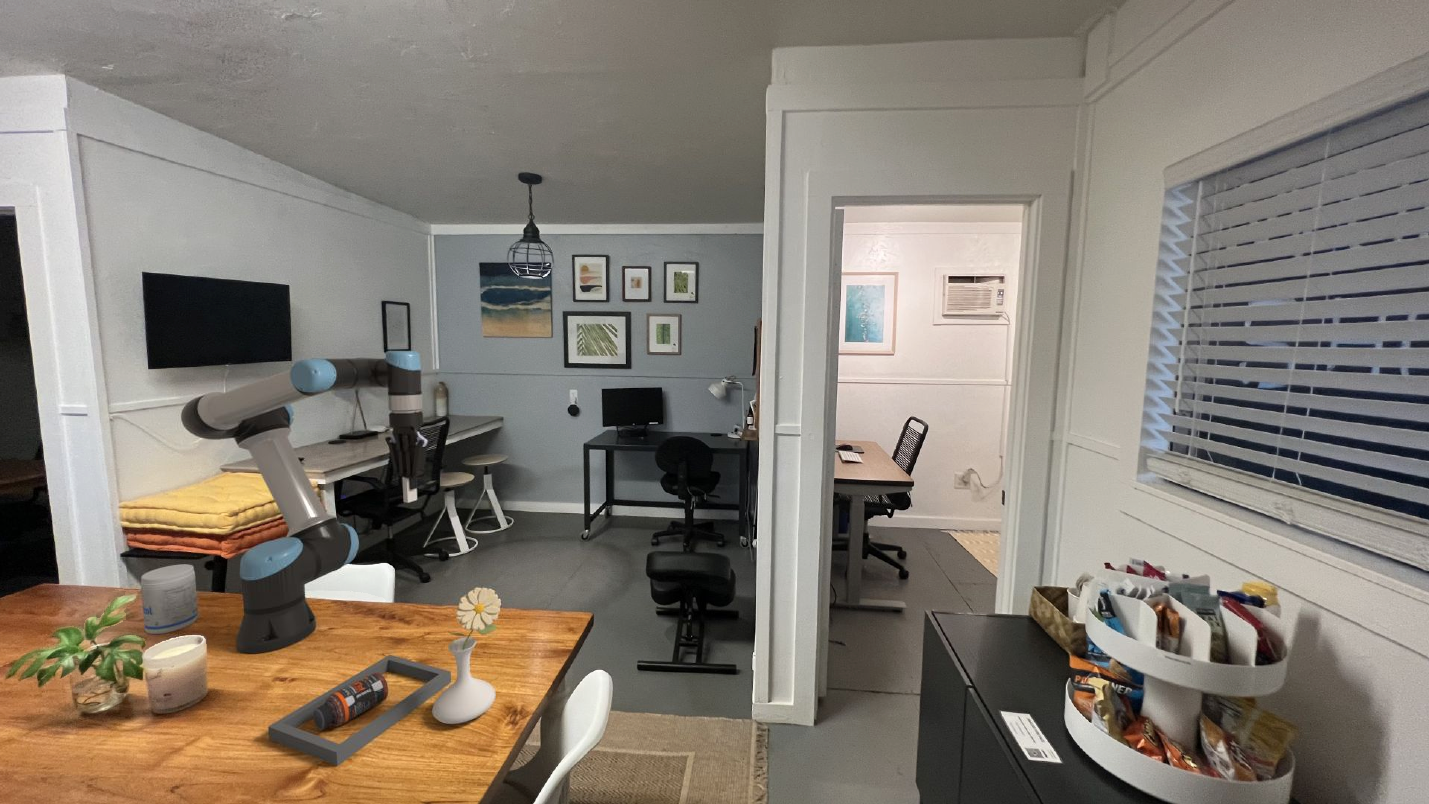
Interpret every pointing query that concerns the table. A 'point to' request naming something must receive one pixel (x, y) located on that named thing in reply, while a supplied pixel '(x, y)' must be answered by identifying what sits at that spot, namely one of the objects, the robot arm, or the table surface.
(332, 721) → the supplement bottle
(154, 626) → the supplement tub
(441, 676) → the corral
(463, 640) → the flower in vase
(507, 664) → the table surface
